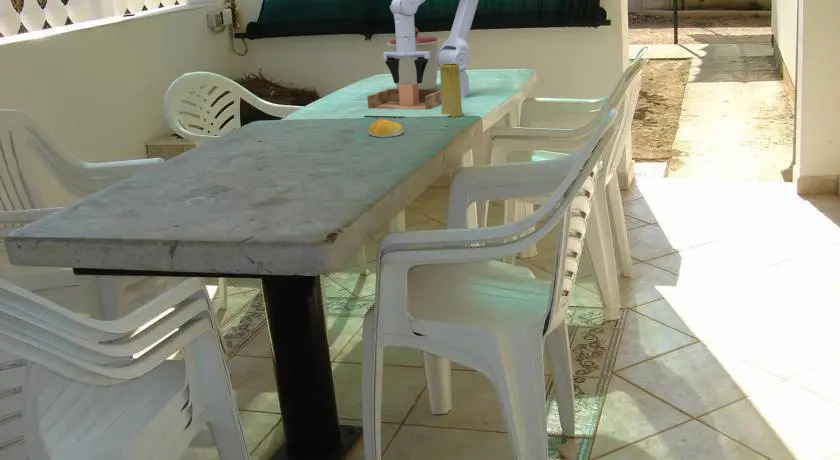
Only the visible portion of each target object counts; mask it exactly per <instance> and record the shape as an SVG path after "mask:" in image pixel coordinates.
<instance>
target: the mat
mask: <svg viewBox="0 0 840 460" xmlns="http://www.w3.org/2000/svg"><path fill="white" fill-rule="evenodd" d="M397 117H398V118H397ZM364 118H371V119H372V118H373V119H374V118H376V119H379V118H380V119H381V118H382V119H387V118H388V119H404V118H405V115H404V116H402V115H401V116H398V115H397V116H396V115H395V116H393V115H391V116H389V115H364Z"/></svg>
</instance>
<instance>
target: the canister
mask: <svg viewBox="0 0 840 460" xmlns="http://www.w3.org/2000/svg"><path fill="white" fill-rule="evenodd" d="M441 41H442V40H441V39H440V38H438V37H437V36H434V35H423V34H421V35H420V34H419V29H418V28H417V27H415V44H416V51H430V58H428V63H427V65H426V67H425V70H424V74H423V79H422V83H418V88H419V89H435V87H436V85H437V81H438V69H439V68H438V67H439V66H438V64H437V62H436V56H437V53H438V52H439V51H440V48H439V47H440V43H441ZM386 45H387V46H388V48H389V49H388V50H389V52H397V47H396V37H394V38H392V39H390V40H389V41H388V42H387V43H386ZM399 57H415V56H399ZM416 59H417V58H410V59H400V60H399V83H395V86H396V89H399V86H398V85H401V84H404V83H417V73H416V66H415V62H414V60H416Z"/></svg>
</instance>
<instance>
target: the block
mask: <svg viewBox="0 0 840 460" xmlns="http://www.w3.org/2000/svg"><path fill="white" fill-rule="evenodd" d="M398 86H399V102H400V105H411V106H413V105H416V104H418V103H419V88H418V83H404V84H401V85H398Z"/></svg>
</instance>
